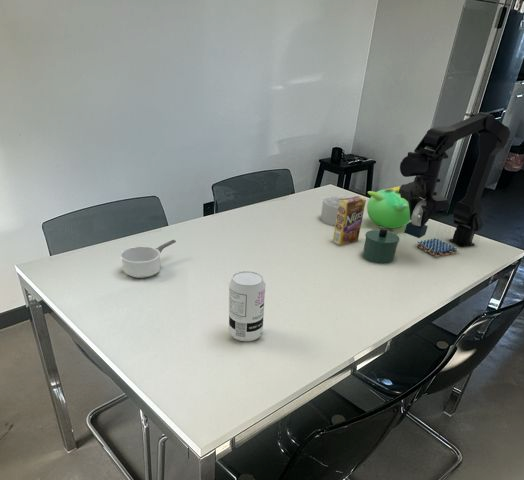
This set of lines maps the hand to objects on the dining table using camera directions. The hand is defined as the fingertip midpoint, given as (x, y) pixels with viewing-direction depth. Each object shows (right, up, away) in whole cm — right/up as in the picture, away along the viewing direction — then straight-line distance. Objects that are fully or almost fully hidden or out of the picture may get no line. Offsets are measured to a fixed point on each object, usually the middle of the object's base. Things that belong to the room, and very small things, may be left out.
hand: (416, 222), depth 151 cm
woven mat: (+10, -7, +10) cm, 16 cm away
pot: (-12, -11, +3) cm, 17 cm away
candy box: (-21, -3, +13) cm, 25 cm away
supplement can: (-55, -38, -39) cm, 78 cm away
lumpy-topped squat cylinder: (-22, +9, +30) cm, 38 cm away
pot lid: (-12, -5, -1) cm, 13 cm away
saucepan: (-85, -17, -12) cm, 87 cm away
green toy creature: (-3, +6, +28) cm, 29 cm away
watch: (0, -3, +2) cm, 4 cm away
